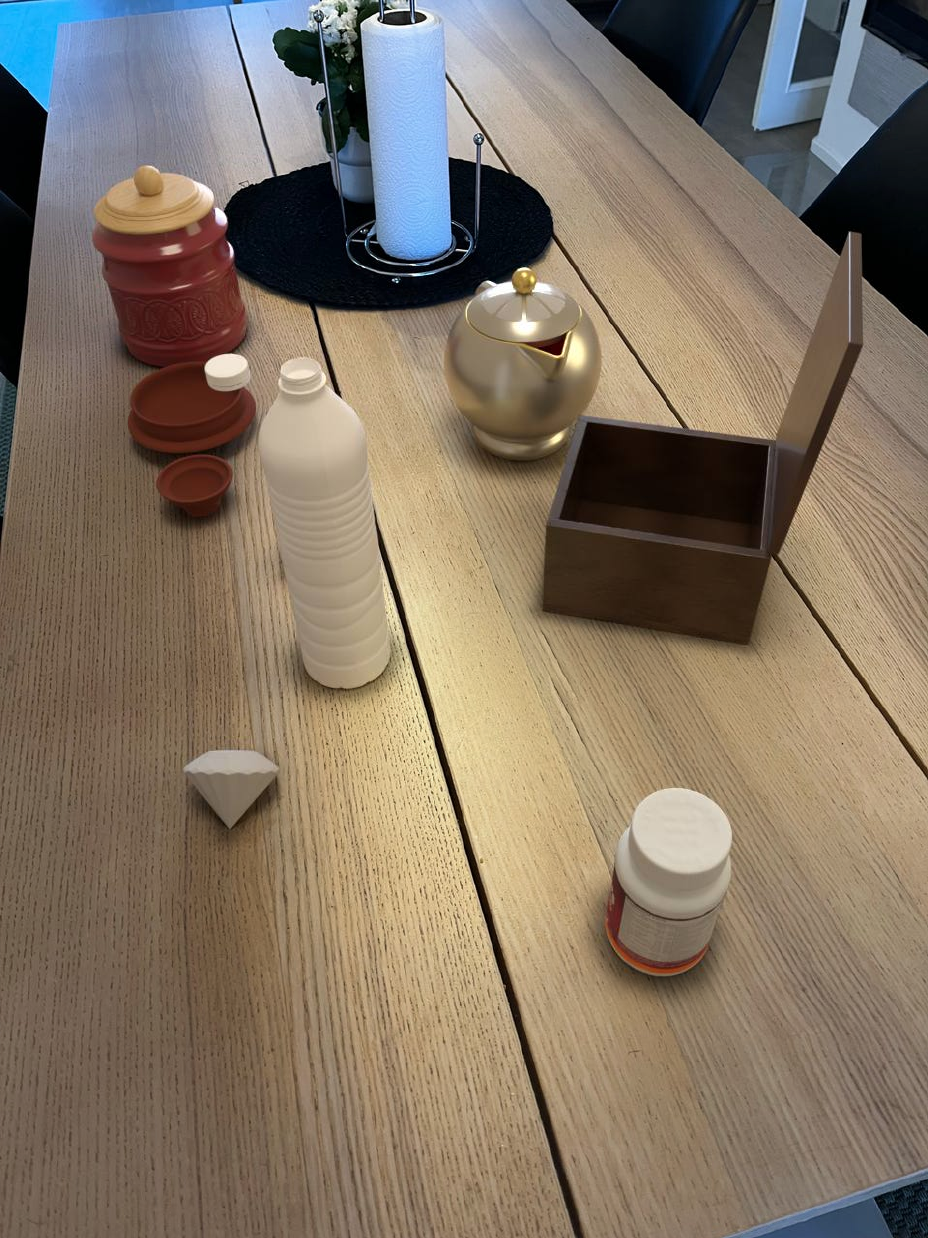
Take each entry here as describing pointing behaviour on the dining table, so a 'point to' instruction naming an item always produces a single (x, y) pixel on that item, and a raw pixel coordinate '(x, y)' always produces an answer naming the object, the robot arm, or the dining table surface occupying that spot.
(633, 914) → the pill bottle
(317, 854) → the dining table surface
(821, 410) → the lid
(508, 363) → the teapot
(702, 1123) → the dining table surface
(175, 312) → the kitchen canister
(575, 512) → the chest
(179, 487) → the pottery
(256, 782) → the gemstone
